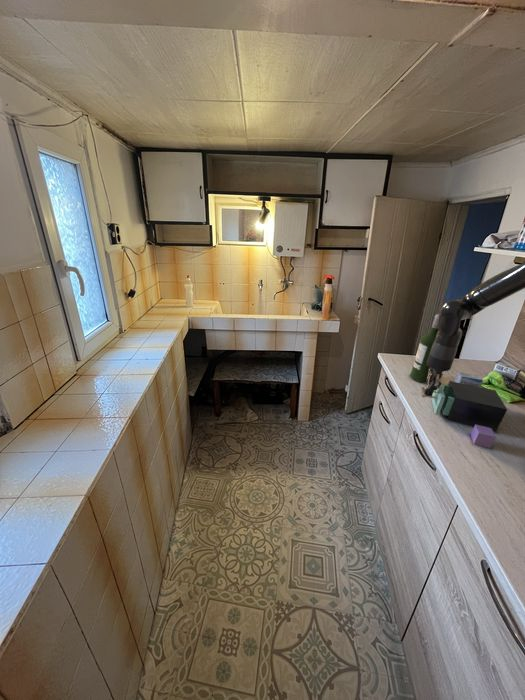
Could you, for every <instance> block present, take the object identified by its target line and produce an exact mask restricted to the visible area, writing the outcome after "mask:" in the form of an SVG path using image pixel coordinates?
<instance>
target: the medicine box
mask: <svg viewBox="0 0 525 700" xmlns="http://www.w3.org/2000/svg"><path fill="white" fill-rule="evenodd" d="M454 382H457V383H462V384H467V385H472V386H477V387H481V388H482V385H483V383H484V379H483V378H482V377H481V376H480V375H479V374H478V375H477V374H473V373H472V374H471V373H465V372H460V371H457V373H456V377H455V379H454Z"/></svg>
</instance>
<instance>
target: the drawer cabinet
mask: <svg viewBox="0 0 525 700" xmlns="http://www.w3.org/2000/svg"><path fill="white" fill-rule="evenodd" d="M447 385H450V387H451V390H452V393H453V395H454V398H455V399H454V402H453V404H452V407H451V409H450V412H449V415H448V416H447V415H445V419H446V421H448V422H453V423H457V424H460V425H464V426H469V427H473V428H474V426H475V424H476V425H480V426H484V427H488V428H492V430H493V432H494V433H497V431H498V429H499V427H500V425H501V423H502V421H503V419H504V418H505V415H506V413H507V411H508V408H507V406H506V405H505V403H504V402H503V400H502V398H501V397H500V395H499V393H498V392H497V391H496V389H489V388H486V387H482V386H481V387H477V386H472V385H467V384H462V383H457V382H455V381H453V380H452V381H451V380H449V381H448V384H447Z"/></svg>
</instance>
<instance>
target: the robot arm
mask: <svg viewBox="0 0 525 700" xmlns="http://www.w3.org/2000/svg"><path fill="white" fill-rule="evenodd" d="M524 289H525V261H524V262H522V263H520V264H517V265H516V266H513V267H511V268H509V269H506V270H504V271H502V272H500V273H497V274H496V275H494V276H492V277H490V278H488V279H486V280H484V281H483V282H482V283H480V284H478V285H477V286H475V287H474V288H472V289H471V291H470V292H469V293H467V294H466V295H463V296H462V297H460V298H455V299H450V300H448V301H446V302H444V304H442V306H441V308H440V311H439V313H438V314H439V323H438V332H437V335H436V338H435V341H434V343H433V345H432V348H431V351H430V354H429V357H428V360H427V365H428V366H429V372H428V378H427V383H426V388H425V389H426V395H430V396H432V395H433V392H434V390H437V389H438V388H439V387H440V386H441V385H442V381H441V380H442V379H443V378H444V377H443V376H444V373H443V372H449V371H450V370H451V368H452V365H453V363H454V360H455V357H456V354H457V351H458V347H459V345H460V341H461V339H462V336H463V330H462V329H461V328H460V326H461V322H462V320H466V319H469V318H471V317H473V316H474V315H477V314H479V313H480V312H481V311H484V310H485V309H486V308H488V307H490V306H492V305H495V304H497V303H499V302H501V301H503V300H504V299H507V298H508V297H511V296H513V295H515V294H517V293H518V292H520V291H522V290H524Z"/></svg>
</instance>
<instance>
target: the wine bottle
mask: <svg viewBox="0 0 525 700" xmlns="http://www.w3.org/2000/svg"><path fill="white" fill-rule="evenodd" d="M438 323H439V313H437V314H435V316H434V319H433V321H432V325H431V328H430V331H429V332H428V333H426V334H424V335H423V336H422V337H420V341H419V344H418V348H417V351H416V355H415V358H414V361H413V364H412V367H411V372H410V375H409V376H410V378H411V380H413V381H415V382H417V383H423V384H427V383H428V382H427V378H428V372H429V366H428V365H427V360H428V357H429V354H430V351H431V348H432V345H433V343H434V341H435V338H436V335H437V332H438Z"/></svg>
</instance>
